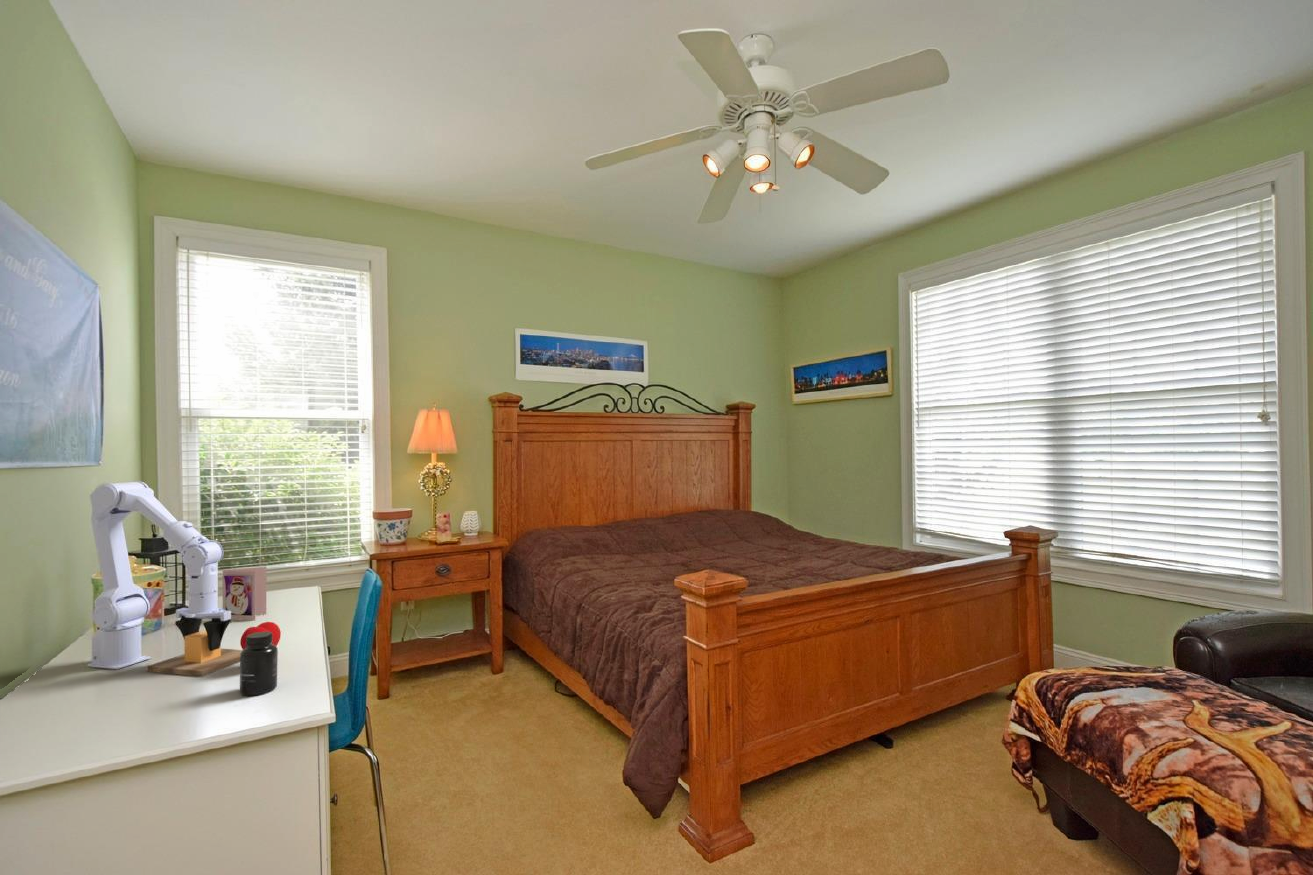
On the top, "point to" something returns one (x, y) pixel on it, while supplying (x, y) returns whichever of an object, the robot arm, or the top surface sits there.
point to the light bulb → (262, 628)
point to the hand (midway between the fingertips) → (203, 648)
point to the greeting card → (244, 592)
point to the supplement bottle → (258, 665)
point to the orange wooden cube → (199, 648)
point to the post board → (197, 664)
